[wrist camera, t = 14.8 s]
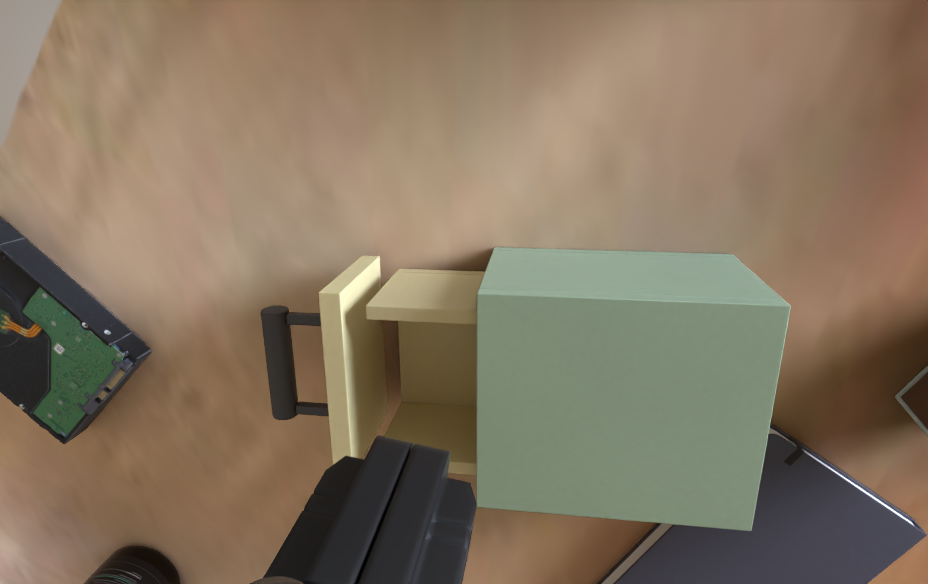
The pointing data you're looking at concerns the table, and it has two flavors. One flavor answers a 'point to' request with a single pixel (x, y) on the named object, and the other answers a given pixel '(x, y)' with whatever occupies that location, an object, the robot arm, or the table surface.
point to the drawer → (363, 362)
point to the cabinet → (625, 385)
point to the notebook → (782, 532)
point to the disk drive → (57, 342)
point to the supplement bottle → (135, 568)
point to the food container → (916, 399)
